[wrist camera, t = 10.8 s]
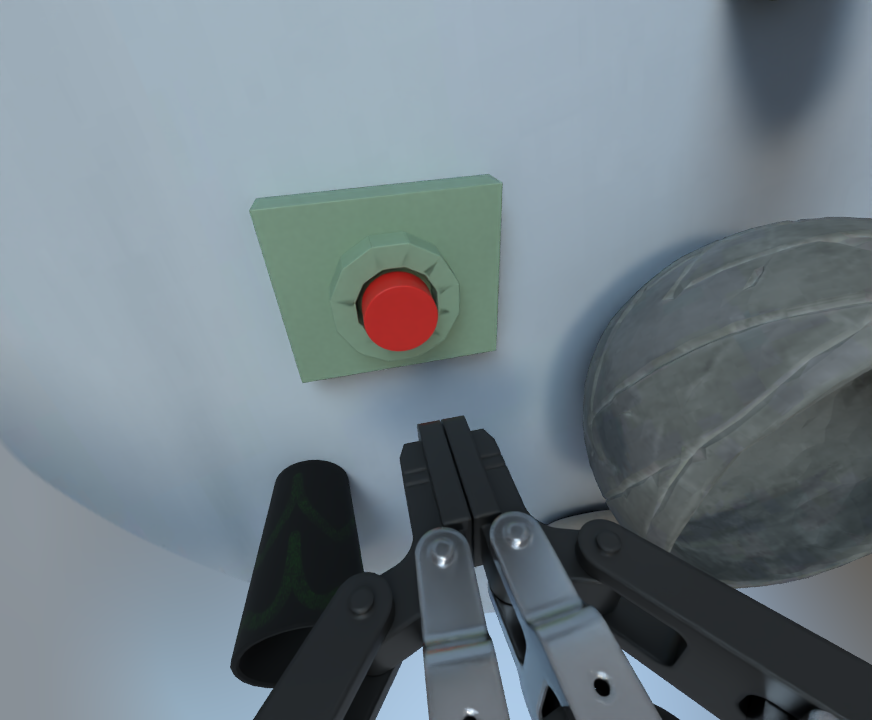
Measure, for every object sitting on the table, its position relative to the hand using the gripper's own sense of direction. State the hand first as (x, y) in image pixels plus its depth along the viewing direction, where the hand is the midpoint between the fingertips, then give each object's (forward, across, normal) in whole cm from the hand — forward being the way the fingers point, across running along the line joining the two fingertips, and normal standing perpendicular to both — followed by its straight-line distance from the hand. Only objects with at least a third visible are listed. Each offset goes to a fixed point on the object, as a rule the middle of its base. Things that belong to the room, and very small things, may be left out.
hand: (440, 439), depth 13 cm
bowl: (+14, -20, +7) cm, 25 cm away
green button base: (+14, 0, 0) cm, 14 cm away
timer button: (+10, 0, 0) cm, 10 cm away
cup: (+14, +8, +17) cm, 23 cm away
